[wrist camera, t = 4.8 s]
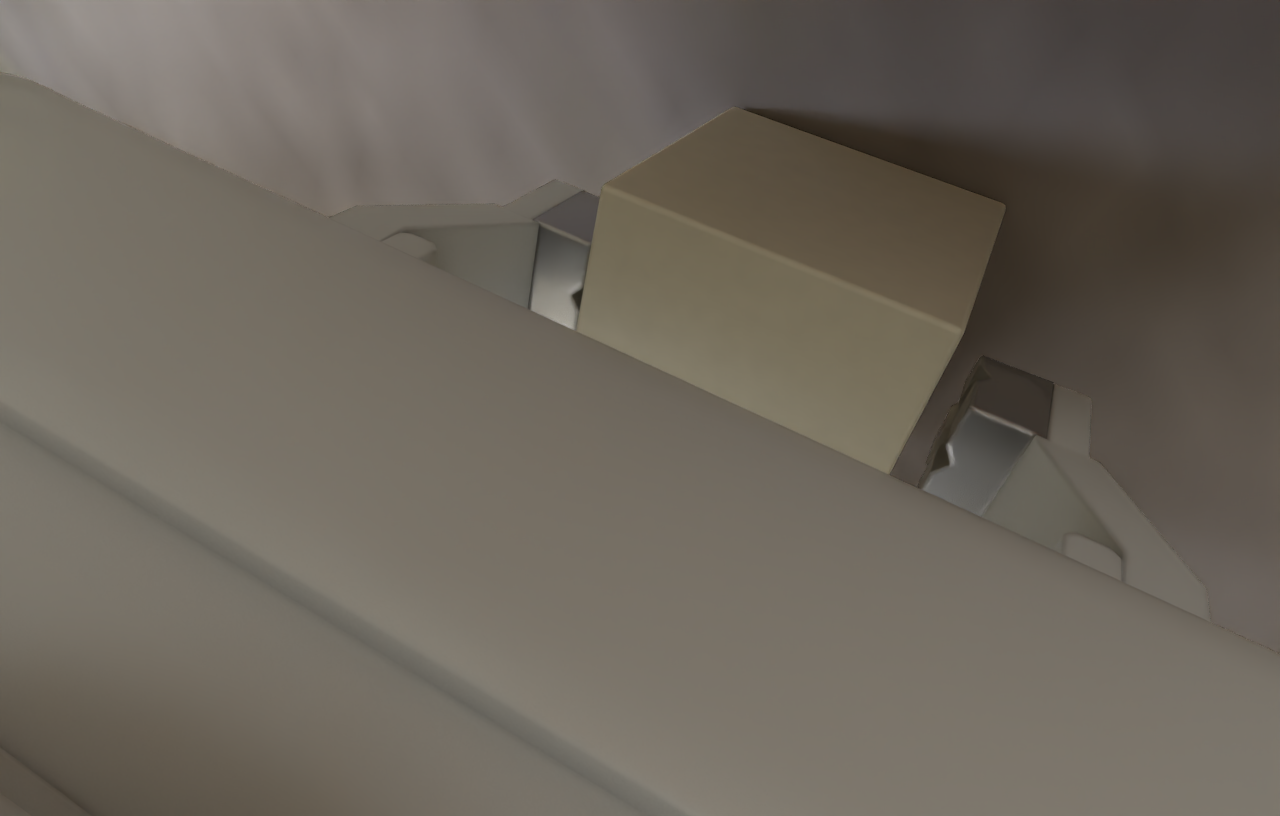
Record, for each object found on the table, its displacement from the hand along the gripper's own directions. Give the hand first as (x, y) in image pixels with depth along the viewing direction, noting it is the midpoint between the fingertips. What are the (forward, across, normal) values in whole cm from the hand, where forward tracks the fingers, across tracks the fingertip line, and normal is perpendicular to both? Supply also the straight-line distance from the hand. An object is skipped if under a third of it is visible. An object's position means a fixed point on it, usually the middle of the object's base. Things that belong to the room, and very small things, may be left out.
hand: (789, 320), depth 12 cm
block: (+2, 0, 0) cm, 2 cm away
